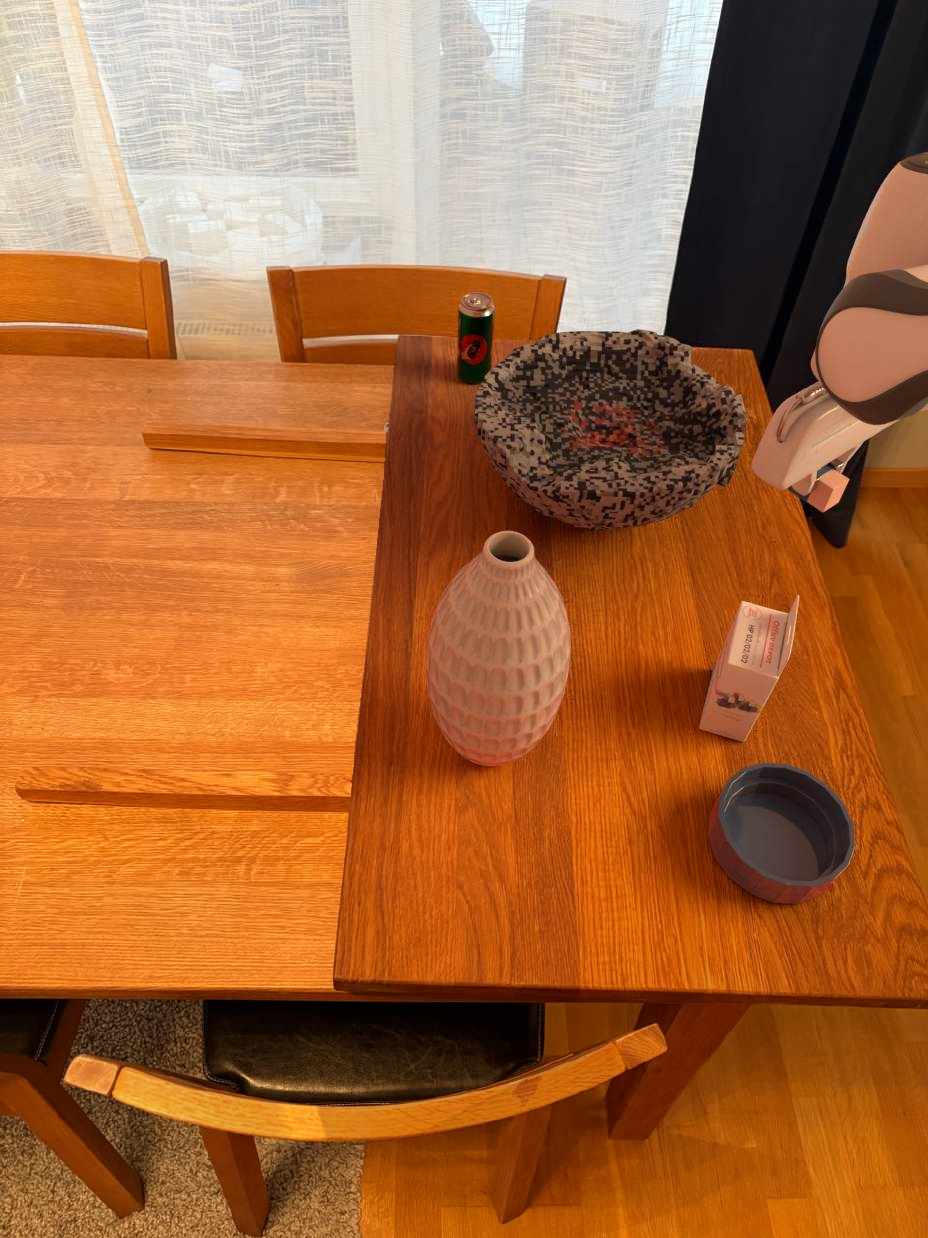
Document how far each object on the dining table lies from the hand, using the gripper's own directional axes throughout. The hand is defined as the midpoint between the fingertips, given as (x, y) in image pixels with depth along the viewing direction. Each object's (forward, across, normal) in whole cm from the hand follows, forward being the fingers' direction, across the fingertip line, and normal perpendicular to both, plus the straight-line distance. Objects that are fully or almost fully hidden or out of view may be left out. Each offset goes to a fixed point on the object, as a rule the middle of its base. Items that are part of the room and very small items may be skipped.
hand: (816, 481), depth 83 cm
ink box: (+20, -12, -6) cm, 25 cm away
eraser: (+2, 0, 0) cm, 2 cm away
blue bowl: (+20, -21, -19) cm, 35 cm away
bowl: (+20, -2, +26) cm, 33 cm away
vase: (+20, -35, +5) cm, 41 cm away
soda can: (+19, +1, +55) cm, 59 cm away
